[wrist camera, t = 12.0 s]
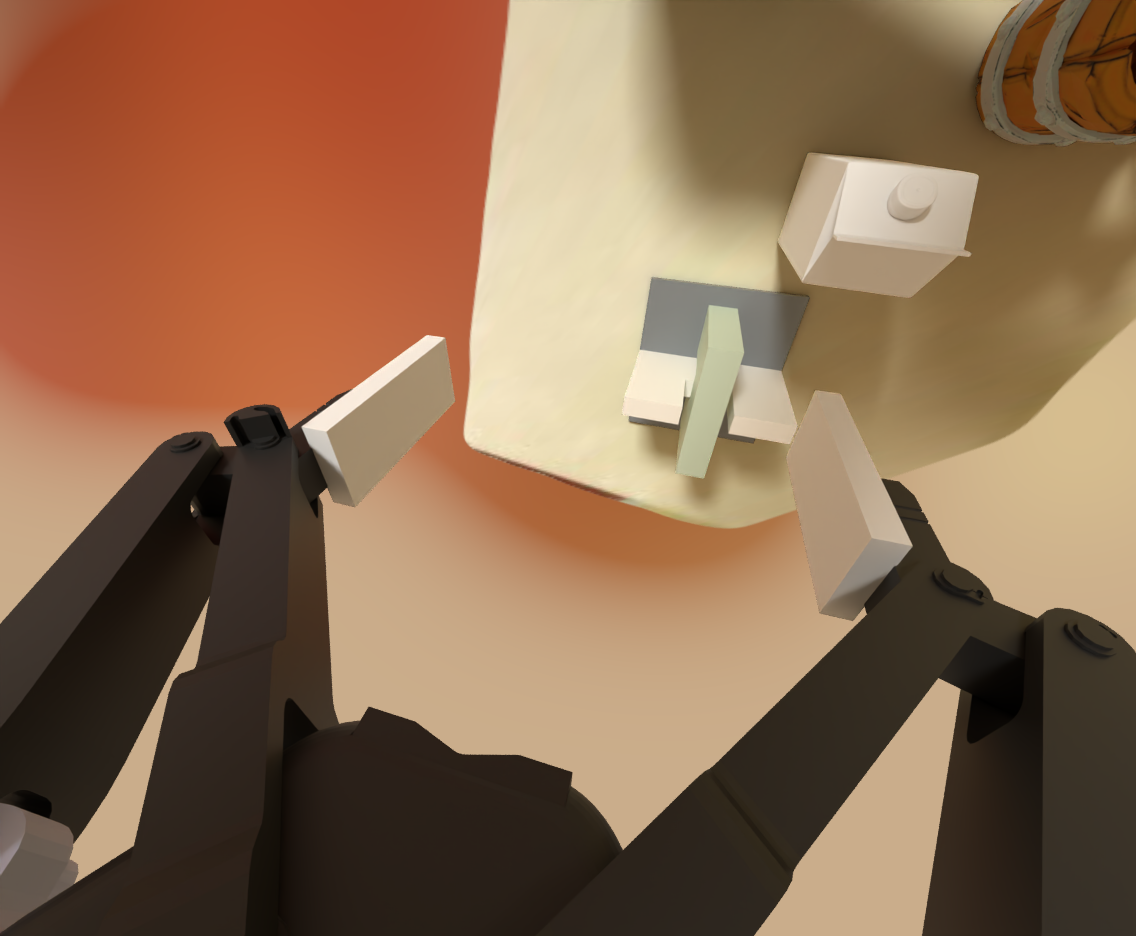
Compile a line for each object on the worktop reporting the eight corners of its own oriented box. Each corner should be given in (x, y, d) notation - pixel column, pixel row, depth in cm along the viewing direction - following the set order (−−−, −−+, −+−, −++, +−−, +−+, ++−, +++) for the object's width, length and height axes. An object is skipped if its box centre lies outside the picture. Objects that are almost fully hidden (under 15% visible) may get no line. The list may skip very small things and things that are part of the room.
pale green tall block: (708, 304, 46) (708, 347, 37) (737, 308, 46) (744, 352, 37) (681, 416, 55) (675, 473, 46) (705, 420, 55) (703, 478, 45)
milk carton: (854, 252, 41) (933, 317, 26) (776, 242, 42) (811, 300, 28) (895, 160, 36) (1017, 179, 22) (807, 151, 38) (867, 164, 23)
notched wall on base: (629, 418, 58) (612, 475, 48) (652, 277, 47) (636, 314, 37) (752, 440, 55) (761, 505, 46) (808, 296, 44) (836, 342, 34)
